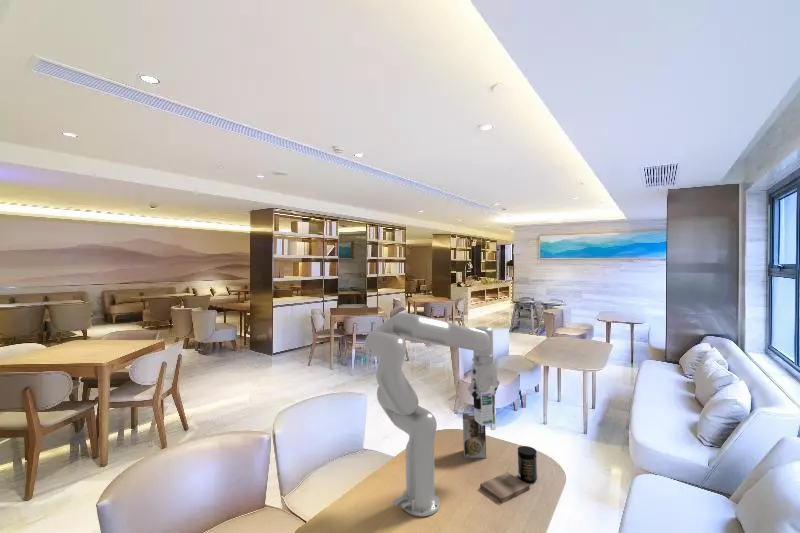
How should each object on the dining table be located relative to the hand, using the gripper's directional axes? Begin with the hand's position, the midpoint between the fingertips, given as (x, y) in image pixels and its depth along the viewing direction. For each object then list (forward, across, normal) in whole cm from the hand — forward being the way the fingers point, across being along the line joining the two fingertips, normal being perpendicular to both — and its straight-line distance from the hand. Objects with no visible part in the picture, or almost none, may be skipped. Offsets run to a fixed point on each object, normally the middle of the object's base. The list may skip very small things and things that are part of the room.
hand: (484, 405), depth 138 cm
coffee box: (+26, +7, +13) cm, 30 cm away
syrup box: (+6, 0, 0) cm, 6 cm away
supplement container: (+26, +10, -11) cm, 30 cm away
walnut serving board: (+26, -2, -11) cm, 28 cm away
